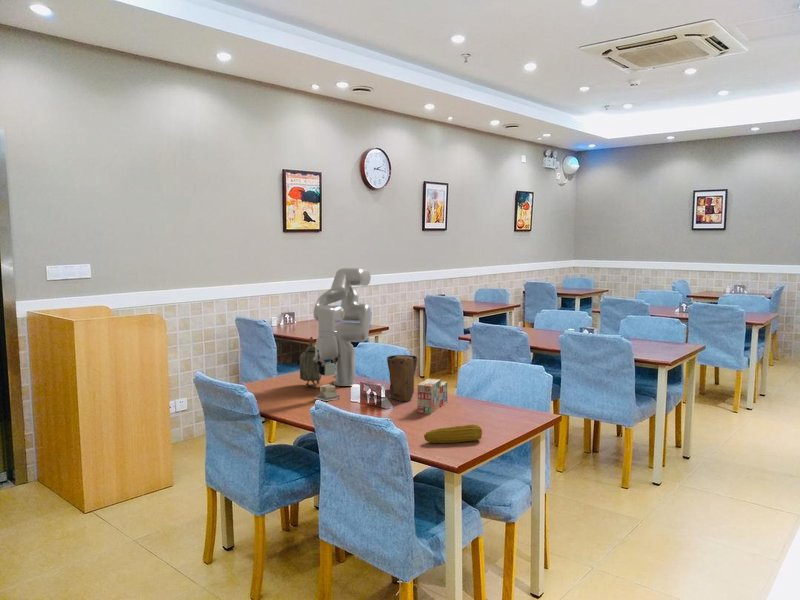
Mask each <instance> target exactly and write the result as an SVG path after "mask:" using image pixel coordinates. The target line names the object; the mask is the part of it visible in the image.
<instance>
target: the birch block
mask: <svg viewBox="0 0 800 600" xmlns="http://www.w3.org/2000/svg"><path fill="white" fill-rule="evenodd" d="M335 394H336V386H335V385H334V384H333V385H332V384H328V383H327V384H324V385H319V395H320V396H321V397H325V398H329V397H333V396H335Z"/></svg>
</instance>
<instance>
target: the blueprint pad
mask: <svg viewBox="0 0 800 600" xmlns="http://www.w3.org/2000/svg"><path fill="white" fill-rule="evenodd" d="M314 397H315V399H316V398H319V399H317V400H319V401H321V400H323V401H322V402H324V400H325V401H328V400H331V399H337V398H340V399H341V395H340V394H336V393H335V396H333V397H329V398H325V397H321V396H320V394H317V395H315V396H314Z"/></svg>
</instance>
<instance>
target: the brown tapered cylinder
mask: <svg viewBox="0 0 800 600" xmlns="http://www.w3.org/2000/svg"><path fill="white" fill-rule="evenodd" d="M397 355H398V356H395V357H394V358H392V360H391V362H390V373H389V383H390V384H389V396H390V397H391V398H392V399H394V400H397V401H400V402H408V401H411V400H412V398H413V395H414V392H415V375H414V362H413V358H412V357H409V356H406V355H407V354H397Z"/></svg>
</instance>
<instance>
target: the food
mask: <svg viewBox="0 0 800 600" xmlns="http://www.w3.org/2000/svg"><path fill="white" fill-rule="evenodd" d="M482 435H483V430H482V427H481V426H479V425H478V424H465V425H458V426H450V427H449V426H448V427H443V428H441V427H440V428H436V429H432V430H430V431H429V430H428V431H427V432H426V433H425V434H423V438H424V441H426V442H428V443H432V444H455V443H465V442H467V441H468V442H475V441H478V440H481V439H482Z"/></svg>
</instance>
